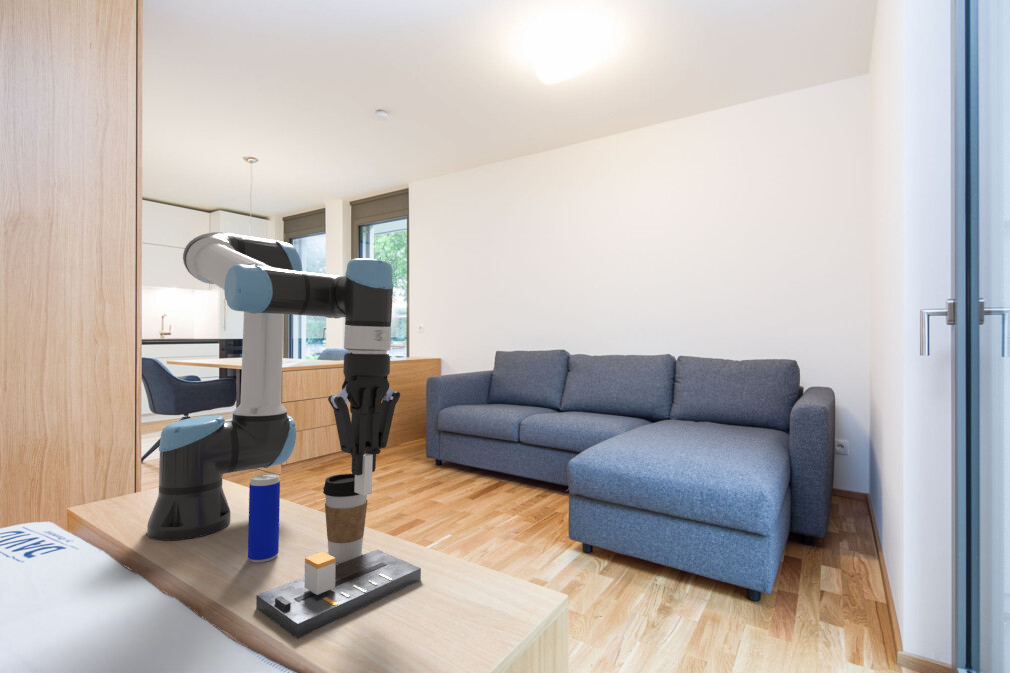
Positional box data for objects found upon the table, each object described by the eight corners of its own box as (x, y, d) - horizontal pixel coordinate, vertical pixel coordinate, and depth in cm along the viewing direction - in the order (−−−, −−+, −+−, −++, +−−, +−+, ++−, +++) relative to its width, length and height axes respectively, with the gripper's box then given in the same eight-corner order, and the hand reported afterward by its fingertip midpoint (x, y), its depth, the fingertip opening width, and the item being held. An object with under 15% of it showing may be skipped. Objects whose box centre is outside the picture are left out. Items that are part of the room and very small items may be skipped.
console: (256, 608, 74) (256, 589, 74) (377, 560, 91) (377, 544, 91) (297, 638, 66) (297, 617, 66) (420, 580, 83) (420, 563, 84)
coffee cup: (354, 568, 88) (356, 483, 88) (312, 563, 89) (314, 480, 90) (376, 549, 96) (377, 472, 96) (336, 545, 98) (338, 469, 98)
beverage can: (284, 554, 93) (286, 475, 93) (260, 565, 88) (262, 481, 88) (265, 549, 95) (267, 472, 95) (241, 560, 90) (243, 478, 91)
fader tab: (304, 587, 75) (305, 557, 75) (322, 580, 78) (322, 551, 78) (317, 594, 73) (317, 564, 73) (335, 587, 75) (335, 557, 76)
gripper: (346, 353, 75) (341, 507, 75) (412, 353, 85) (407, 489, 85) (319, 351, 80) (314, 496, 79) (385, 351, 90) (381, 480, 90)
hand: (362, 492), depth 82 cm, fingers closed
